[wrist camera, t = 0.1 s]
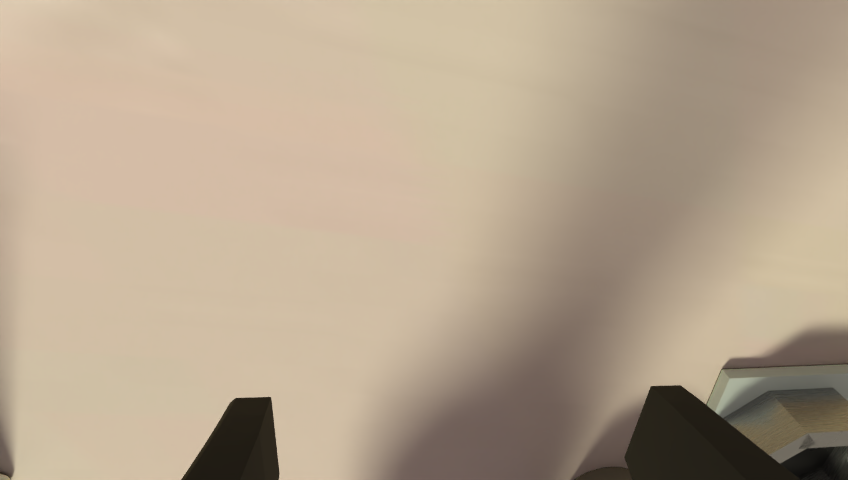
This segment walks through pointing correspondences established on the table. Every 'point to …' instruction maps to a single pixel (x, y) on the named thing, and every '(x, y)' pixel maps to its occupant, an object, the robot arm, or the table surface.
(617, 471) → the cap
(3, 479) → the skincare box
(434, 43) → the table surface
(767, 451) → the octagonal ring mount
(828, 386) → the plate
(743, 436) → the robot arm
